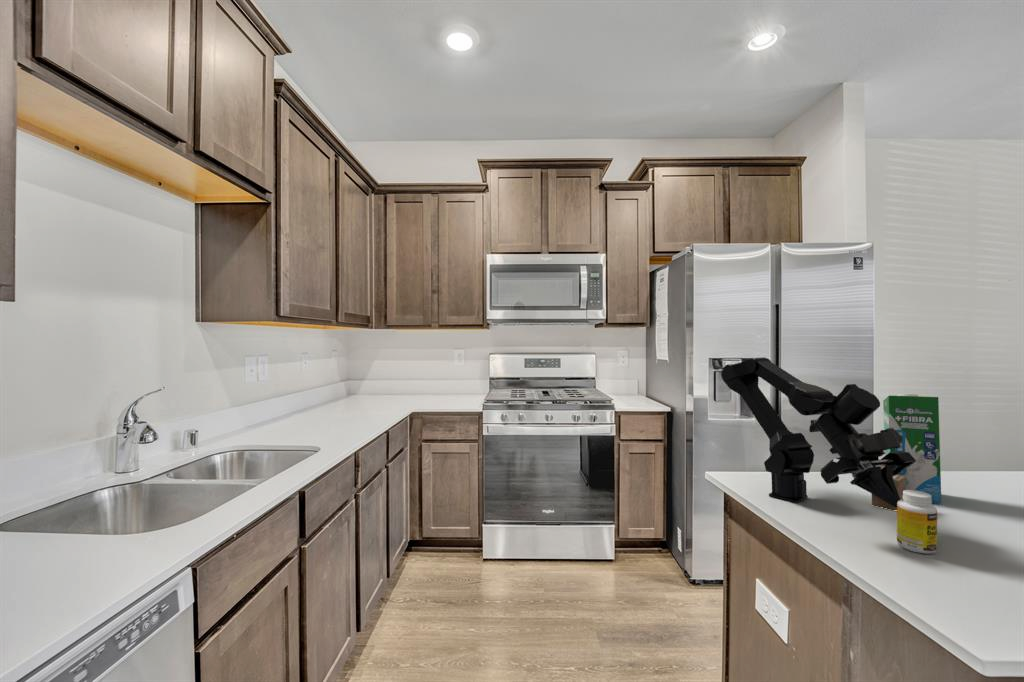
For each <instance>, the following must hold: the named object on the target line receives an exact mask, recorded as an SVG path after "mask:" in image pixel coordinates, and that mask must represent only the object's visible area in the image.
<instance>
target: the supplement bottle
mask: <svg viewBox="0 0 1024 682" xmlns="http://www.w3.org/2000/svg"><path fill="white" fill-rule="evenodd" d="M902 497H903V499H901V500H899V501H898V502H897V511H896V542H897V544H898V545H899V546H900V547H902V548H903V549H905V550H907V551H911V552H914V553H918V554H925V555H926V554H927V555H928V554H934V553H936V551H937V547H938V546H937V543H938V536H937V535H938V509H937V507H935V505H933V503H931V502H932V500H931V495H930V494H928V493H925V492H922V491H917V490H904V491H903V496H902Z"/></svg>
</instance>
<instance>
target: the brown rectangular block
mask: <svg viewBox="0 0 1024 682" xmlns="http://www.w3.org/2000/svg"><path fill="white" fill-rule="evenodd" d="M893 480H894V484H895V486H896V489H897V491H898V494H899V497H900V499H903V497H902V496H903V491H904V490H906V477H905V476H900V475H895V476H893ZM872 505H874V506H873V507H875V506H878V507H877V508H879V507H883V508H882V509H884V508H887V509H886V510H888V509H891V510H890V511H893V510H897V508H896V507H894V506H892V505H890V504H889V503H887V502H885V501H884V500H882V499H880V498H879V497H877V496H875V495H873V494H872V493H871V506H872Z"/></svg>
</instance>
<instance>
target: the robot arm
mask: <svg viewBox="0 0 1024 682" xmlns="http://www.w3.org/2000/svg"><path fill="white" fill-rule="evenodd" d="M720 377H721V379H722V381H723V383H724V384H725V385H726V386H727V387H728V388H729V389H730V390H731V391H733V392H735V393H737V394H738V395H739V396H741V398H742V399H743V401H744V402H745V404H746V405H747V407H748V408H749V411H751V413H752V415H753V416H754V418H755V419H756V421H757V423H758V424H759V426H760V427H761V428H762V430H763V431H764V433H765V435H766V437H768V440H769V444H768V445H769V453H770V454H771V455H770V456H768V458H767V459H765V461H764V462H763V465H764V468H765V471H766V472H769V473H771V474H770V475H771V492H770V493H768V496H769V497H771V498H777V499H780V500H784V501H789V502H791V503H799V502H801V501H803V500H805V499H807V498H808V497H809V495H808V494H807V493H808V492H807V491H808V490H807V481H806V479H805V474H809V473H810V471H811V467H812V465H813V464H814V460H815V458H814V457H815V454H814V451H813V449H812V448H813V445H811V444H810V443H809V442H808V440H807V439H806V437H805V435H804V434H803V433H801V432H795V433H793V432H791V431H790V430H789V429H788V428H787V426H786V425H785V423H784V422H783V420H782V419H781V417H780V416H779V414H778V413H777V412H776V411H775V408H774V407H773V406H772V405H771V403H770V401H769V399H767V397H766V395H765V394H764V392H762V390H761V388H760V386H759V379H760V378H761V379H762V380H764V381H765V382H766V383H768V384H769V385H771V386H772V387H773V388H775V389H777V390H778V391H779V392H780V393H782V394H784V395H785V396H786V397H787V399H788V401H789V404H790V406H792V407H793V409H795V411H797V412H798V413H799V415H802V416H819V415H820V416H819V417H818V418H816V419H811V420H810V425H809V428H808V429H809V432H810V433H819V432H820V433H821V435H822V436H823V437H824V438H825V439H826V441H827V442H828V443H829V444H830V446H831V447H830V449H829V452H830V453H831V455H834V454H835V455H836V454H837V455H838V456H839V457H833V458H832V459H831V460H830V461H829V462H828V463H826V464H825V465H824V466H823V467H821V468H820V476H821V478H822V479H823V481H824V483H825V484H827V485H828V484H829V485H831V484H836V483H838V482H839V481H840V477H839V475H847V474H851V475H852V478H853V479H852V480H851V481H850V484H851V485H853V486H854V485H855V486H857V487H859V488H860V489H863V490H864V491H866V492H868V493H869V494H871V495H872V494H873V495H875V496H877V497H879V498H880V499H882V500H884V501H885V502H887V503H889V504H890V505H892V506H894V507H896V508H897V502H898V501H899V500H901V499H900V497H899V494H898V491H897V489H896V486H895V484H894V480H893V476H895V475H898V474H899V473H901V472H902V471H904V470H905V469H906V468H908V467H909V466H911V465H912V464H913V463H915V462H916V460H915V459H914V458H913V456H912V455H911V454H910V453H909V452H904V451H898V452H890V453H888V454H887V455H886V456H885V450H888V449H892V448H900V447H901V445H900V443H902V441H903V440H902V439H903V437H902V436H901V435H900V434H899V433H898V432H897V431H896V430H895V429H893V428H888V429H886V430H884V429H881V430H879V432H876V433H875V432H874V433H871V434H869V435H868V434H867V433H865V432H864V433H863V432H862V433H861V432H860V433H859V431H857V429H856V428H855V427H854V426H853V425H856V426H858V425H860V424H862V423H864V422H865V420H867V419H868V418H869V417H870V416H871V415H872V414H873V413H875V412H876V411H877V410H878V409H879V408H880V407H881V402H880V400H879V398H878V397H877V396H876V395H875V394H873V393H871V391H868V390H866V389H864V388H860V387H859V386H858V385H857V384H856V383H853V384H852V383H849V384H846V385H845V386H844V387H843V389H842V390H841V392H839V394H837V395H834V394H833V393H832V392H831V391H830V390H829V389H826V388H824V387H820V386H818V385H816V384H811V383H807V382H803V381H802V380H800V379H799V378H797V377H795V376H794V375H792V374H790V372H787V371H786V370H784V369H783V368H782V367H780V366H778V365H776V363H773V362H772V361H771V360H770V359H769V358H767V357H751V358H749V359H747V360H744V361H741V362H737V363H732V364H731V363H730V364H726V365H724V367H723V368H722V370H721V374H720ZM881 457H882V458H881Z"/></svg>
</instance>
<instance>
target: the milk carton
mask: <svg viewBox="0 0 1024 682" xmlns="http://www.w3.org/2000/svg"><path fill="white" fill-rule="evenodd" d="M882 403H883V404H882V405H883V430H886V429H888V428H893V429H895V430H896V431H897V432H898V433H899V434H900V435H901V436H902V437H903V439H902V440H903V441H902V443H900V445H901V447H900V448H892V449H888V450H884V452H885V454H884V456H886V455H887V454H888V453H890V452H898V451H904V452H909V453H910V454H911V455H912V456H913V458H914V459H915V460H916V462H915V463H913V464H912V465H911V466H909V467H908V468H906V469H905V470H904V471H902V472H901V473H899V474H898V475H900V476H905V477H906V490H917V491H922V492H925V493H928V494H930V495H931V500H932V502H936V503H935V504H938V503H941V504H942V481H941V480H942V479H941V478H942V475H941V473H942V472H941V444H940V443H941V441H940V438H941V437H940V413H939V412H940V408H939V396H921V395H920V396H919V394H916V393H897V395H892V394H891V395H889V394H888V396H886V397H885V398H884V399H883V400H882Z"/></svg>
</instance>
